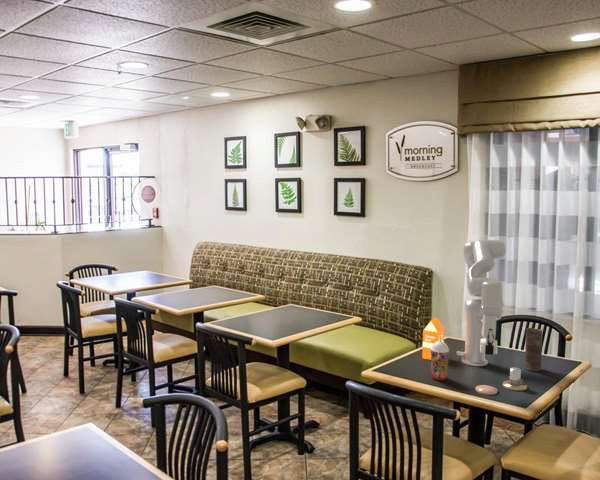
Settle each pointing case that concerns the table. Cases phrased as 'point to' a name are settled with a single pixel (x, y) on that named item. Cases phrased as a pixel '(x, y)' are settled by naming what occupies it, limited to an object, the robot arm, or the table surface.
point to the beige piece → (515, 380)
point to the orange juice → (431, 337)
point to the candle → (533, 349)
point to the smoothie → (439, 360)
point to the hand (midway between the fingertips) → (488, 351)
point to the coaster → (486, 389)
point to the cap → (483, 344)
